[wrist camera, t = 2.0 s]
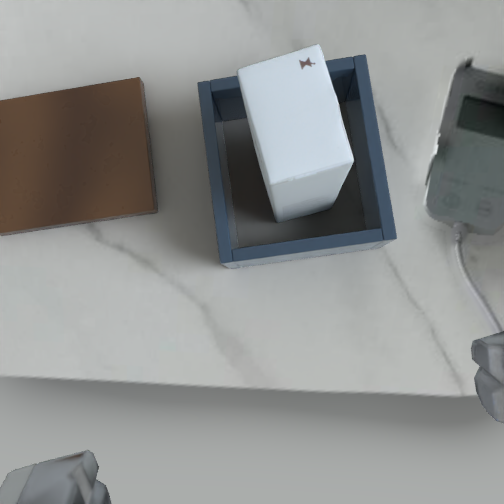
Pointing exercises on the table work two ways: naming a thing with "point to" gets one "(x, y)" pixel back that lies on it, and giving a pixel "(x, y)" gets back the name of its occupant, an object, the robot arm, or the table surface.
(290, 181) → the cosmetic box
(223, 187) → the holder
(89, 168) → the coaster
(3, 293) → the table surface
